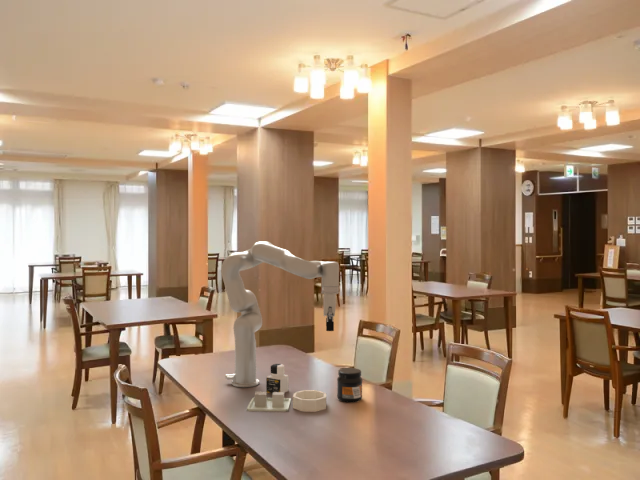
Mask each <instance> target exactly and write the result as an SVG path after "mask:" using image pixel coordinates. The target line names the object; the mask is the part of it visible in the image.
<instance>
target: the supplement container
mask: <svg viewBox="0 0 640 480" xmlns="http://www.w3.org/2000/svg"><path fill="white" fill-rule="evenodd" d="M337 372H338V373H337V375H338V376H337V378H336V382H337V383H336V386H337V388H336V389H337V390H336V391H337V392H336V394H337V395H336V398H337V399H338V400H339V401H340V402H342V403H357V402H360V401H361V400H362V399H363V378H362V370H361V369H359V368H357V367H356V368H355V367H344V368H340V369H339V370H337Z"/></svg>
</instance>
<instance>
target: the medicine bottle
mask: <svg viewBox="0 0 640 480" xmlns="http://www.w3.org/2000/svg"><path fill="white" fill-rule="evenodd" d="M285 367H286V366H285V365H284V364H282V363H274V364H271V365H270V375H267V376H266V381H265V383H266V386H265V387H266V388H265V389H266V391H265V392H267V394H271V395H272V394H273V392H284V394H285V393H287V392H289V385H290V384H289V379H290V378H289V375H288V374H285V373H286V372H285V371H286V370H285V369H286V368H285Z"/></svg>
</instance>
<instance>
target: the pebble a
mask: <svg viewBox="0 0 640 480" xmlns="http://www.w3.org/2000/svg"><path fill="white" fill-rule="evenodd" d="M271 398H272V407H284V398H285V393H284V392H273V394H272V393H271Z"/></svg>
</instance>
